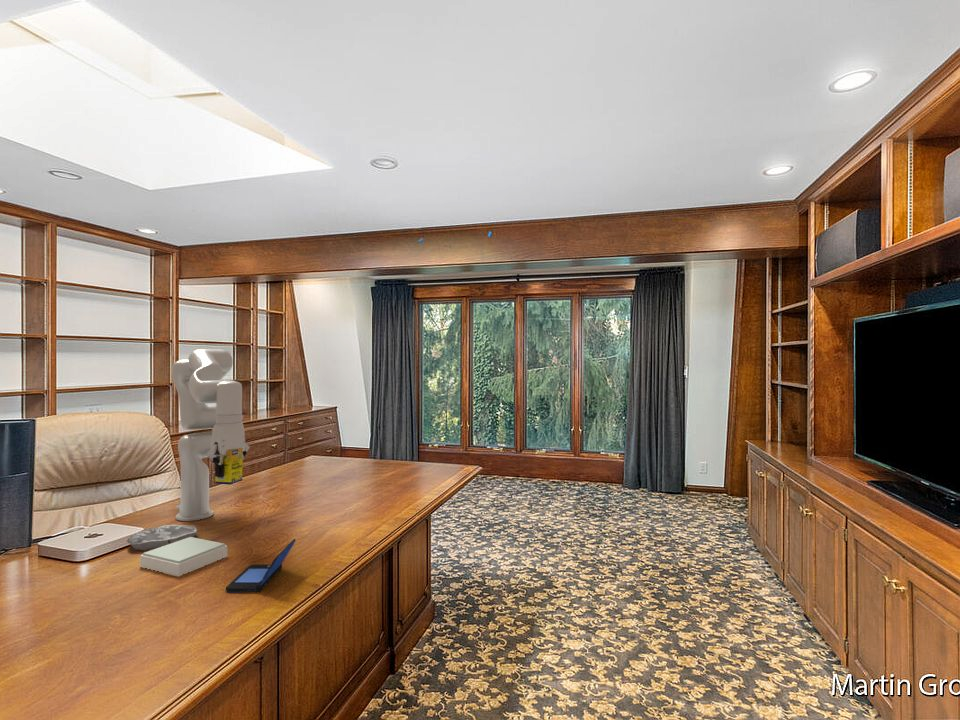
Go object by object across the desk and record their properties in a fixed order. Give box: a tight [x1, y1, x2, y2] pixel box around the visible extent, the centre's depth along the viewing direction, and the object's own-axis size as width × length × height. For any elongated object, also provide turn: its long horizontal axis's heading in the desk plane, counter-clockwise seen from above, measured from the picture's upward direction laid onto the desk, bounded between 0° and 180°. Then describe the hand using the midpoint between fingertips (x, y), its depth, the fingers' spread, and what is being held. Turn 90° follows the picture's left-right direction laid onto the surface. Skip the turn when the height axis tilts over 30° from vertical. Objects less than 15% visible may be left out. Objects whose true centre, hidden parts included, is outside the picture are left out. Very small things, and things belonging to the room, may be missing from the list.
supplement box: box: [214, 448, 244, 486], centre depth 168 cm, size 6×6×11 cm
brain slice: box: [127, 524, 198, 551], centre depth 171 cm, size 20×17×3 cm
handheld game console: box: [225, 538, 296, 593], centre depth 141 cm, size 16×13×9 cm
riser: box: [139, 536, 228, 578], centre depth 153 cm, size 16×16×4 cm
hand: (228, 474), depth 168 cm, fingers closed on supplement box, 6 cm apart
